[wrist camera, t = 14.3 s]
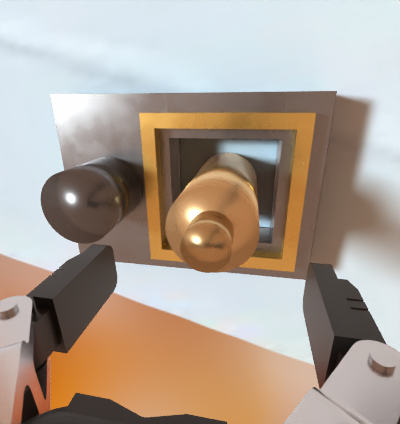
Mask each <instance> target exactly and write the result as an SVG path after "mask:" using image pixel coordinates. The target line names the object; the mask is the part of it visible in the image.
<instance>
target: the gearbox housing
mask: <svg viewBox="0 0 400 424" xmlns="http://www.w3.org/2000/svg"><path fill="white" fill-rule="evenodd" d="M336 93H337V91H311V92H230V93H150V94H69V95H51V100H52V105H53V111H54V116H55V121H56V127H57V132H58V138H59V143H60V148H61V154H62V159H63V164H64V170H65V171H62V172H59V173H57V174H55V175H53V176H51V177H50V178H49V179H48V180H47V181H46V183H45V184H44V186H43V189H42V192H41V206H42V210H43V213H44V215H45V217H46V219H47V221H48V222H49V224H50V225H51V226H52V228H53V229H54V230H55V231H56V232H57V233H59V234H60V235H61V236H63V237H64V238H66V239H68V240H70V241H73V242H76V243H78V245H79V250H80V254H81V253H83V252H84V251H85V250H86V249H87V248H88V247H89V246H91V245H92V244H98V245H109V246H111V247H112V248H113V252H114V259H115V262H125V263H135V264H146V265H156V266H167V267H177V268H188V269H193V268H192V267H190V266H189V265H188V264H186V263H185V262H184V261H182V260H181V259H180V258H179V257H178V256H177V255H176V254H175V252H174V251H173V250H172V248H171V246H170V244H169V242H168V239H167V235H166V218H167V215H168V212H169V210H170V208H171V206H172V205H173V203H174V202H175V200H176V199H177V198H178V197H179V195H180V194H181V174H180V143H179V138H208V139H273V140H278V148H277V159H276V170H275V180H274V191H273V202H272V212H271V223H270V228H260V227H259V241H258V244H257V247H256V249H255V251H254V253H253V254H252V256H251V257H250V258H249V259H248V260H247V261H246V262H245V263H244V264H242V265H241V266H239V267H237V268H235V269H232V270H229V271H225V272H230V273H241V274H251V275H262V276H272V277H283V278H293V279H304V280H306V276H307V270H308V265H309V263H310V257H311V251H312V244H313V238H314V232H315V225H316V219H317V213H318V207H319V200H320V194H321V188H322V181H323V175H324V169H325V162H326V156H327V150H328V144H329V137H330V131H331V125H332V118H333V112H334V106H335V99H336Z"/></svg>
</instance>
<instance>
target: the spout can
mask: <svg viewBox="0 0 400 424" xmlns="http://www.w3.org/2000/svg"><path fill="white" fill-rule="evenodd" d="M166 235H167V239H168V242H169V244H170V246H171V248H172V250H173V251H174V252H175V254H176V255H177V256H178V257H179V258H180V259H181V260H182V261H184V262H185V263H186V264H188V265H189V266H190V267H192V268H193V269H195V270H197V271H200V272H206V273H210V272H225V271H229V270H232V269H235V268H237V267H239V266H241V265H242V264H244V263H245V262H246V261H247V260H248V259H249V258H250V257H251V256H252V254H253V253H254V251H255V249H256V247H257V244H258V241H259V211H258V193H257V177H256V173H255V170H254V168H253V167H252V165H251V164H250V163H249V162H248V161H247V160H246V159H245V158H244V157H242V156H240V155H237V154H234V153H221V154H217V155H215V156H213V157H211V158H210V159H208V160H207V161H206V162H205V163H204V165H203V166H202V167H201V169H200V170H199V171H198V172H197V174H196V175H195V176H194V177H193V179H192V180H191V181H190V183H189V184H188V185H187V186H186V188H185V189H184V190H183V192H182V193H181V194H180V195H179V197H178V198H177V199H176V200H175V202H174V203H173V205H172V206H171V208H170V210H169V212H168V215H167V218H166Z"/></svg>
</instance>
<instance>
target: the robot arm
mask: <svg viewBox="0 0 400 424" xmlns="http://www.w3.org/2000/svg"><path fill="white" fill-rule="evenodd" d="M116 284H117V272H116V266H115V259H114V252H113V248H112V247H111V246H109V245H98V244H92V245H91V246H89V247H88V248H87V249H86V250H85V251H84V252H83V253H81V254H79V255H77V256H76V257H74V258H72V259H70V260H68V261H66V262H65V263H64V264H63V265H62V266H61V267H59V269H57V270H56V271H55V272H54V273H52V276H51V275H50V276H49V277H48V278H46V279H45V280H44V281H43V282H42V283H41V284H39V285H38V286H37V287H36V288H35V289H34V290H32V291H31V292H30V293H29V294H28V295H26V296H14V297H10V298H6V299H4V300H1V301H0V424H227V422H225V421H219V420H214V419H209V418H204V417H198V416H194V415H188V414H184V415H172V416H161V417H150V418H144V417H141V416H139V415H137V414H136V413H134V412H132V411H130V410H128V409H126V408H125V407H123V406H121V405H119V404H118V403H116V402H114V401H112V400H110V399H105V398H100V397H95V396H90V395H85V394H79V393H76V394H75V395H74V397H73V398H72V400H71V402H70V403H69V405H68V406H66V407H61V408H56V409H53V410H50V359H49V356H50V355H51V353H52V352H53V351H56V352H62V353H68V351H69V350H70V349H71V347H72V346H73V345H74V343H75V342H76V341H77V339H78V338H79V336H80V335H81V334H82V333H83V331H84V330H85V329H86V327H87V326H88V324H89V323H90V322H91V321H92V319H93V318H94V316H95V315H96V314H97V313H98V311H99V310H100V309H101V307H102V306H103V304H104V303H105V302H106V301H107V299H108V298H109V297H110V295H111V294H112V293H113V291H114V289H115V287H116ZM303 312H304V317H305V322H306V327H307V331H308V336H309V341H310V346H311V350H312V355H313V360H314V364H315V369H316V374H317V378H318V383H319V388H320V390H318V389H317V388H315V387H314V388H312V389H310V391H308V393H307V394H306V395H305V396H304V398H303V399H302V400H301V402H300V403H299V404H298V406H297V407H296V408H295V409H294V411H293V412H292V413H291V415H290V416H289V417H288V418H287V420H286V421H285V422H284V424H400V352H398V351H397V350H396V349H394V348H392V347H390V346H388V345H387V344H386V343H385V341H384V339H383V337H382V335H381V333H380V331H379V329H378V327H377V325H376V323H375V321H374V320H373V318H372V316H371V314H370V312H369V311H368V308H367V306H366V304H365V302H363V298H362V297H361V295H360V293H359V291H358V289H357V288H356V287H354V286H353V285H352V284H351V283H350V282H349V281H348V280H344V279H338V278H337V276H336V274H335V272H334V269H333V267H332V265H329V264H317V263H309V265H308V270H307V276H306V283H305V290H304V296H303Z"/></svg>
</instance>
